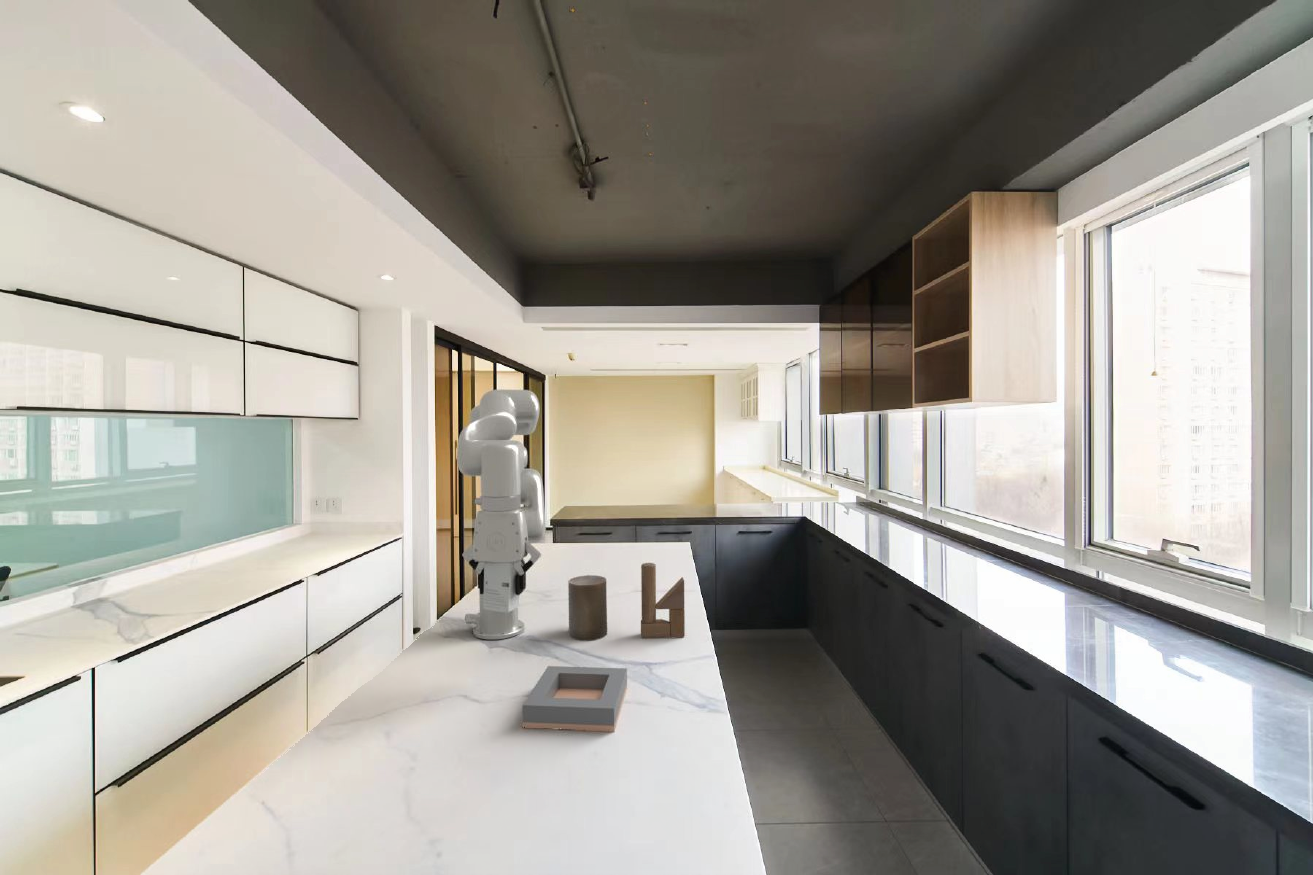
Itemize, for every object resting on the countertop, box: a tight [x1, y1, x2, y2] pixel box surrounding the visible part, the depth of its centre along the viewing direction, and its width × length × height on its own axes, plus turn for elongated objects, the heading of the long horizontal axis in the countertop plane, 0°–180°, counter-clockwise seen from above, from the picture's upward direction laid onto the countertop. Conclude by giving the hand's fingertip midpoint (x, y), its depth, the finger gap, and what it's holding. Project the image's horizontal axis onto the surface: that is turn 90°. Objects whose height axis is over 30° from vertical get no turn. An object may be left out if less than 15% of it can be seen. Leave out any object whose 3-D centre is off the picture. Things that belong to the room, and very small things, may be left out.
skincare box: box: [483, 563, 520, 612], centre depth 113 cm, size 6×4×12 cm
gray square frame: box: [522, 665, 628, 733], centre depth 104 cm, size 16×16×4 cm
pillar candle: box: [567, 574, 608, 641], centre depth 142 cm, size 10×10×15 cm
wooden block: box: [640, 562, 686, 639], centre depth 140 cm, size 4×11×18 cm, turn 93°
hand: (502, 591), depth 113 cm, fingers closed on skincare box, 6 cm apart
